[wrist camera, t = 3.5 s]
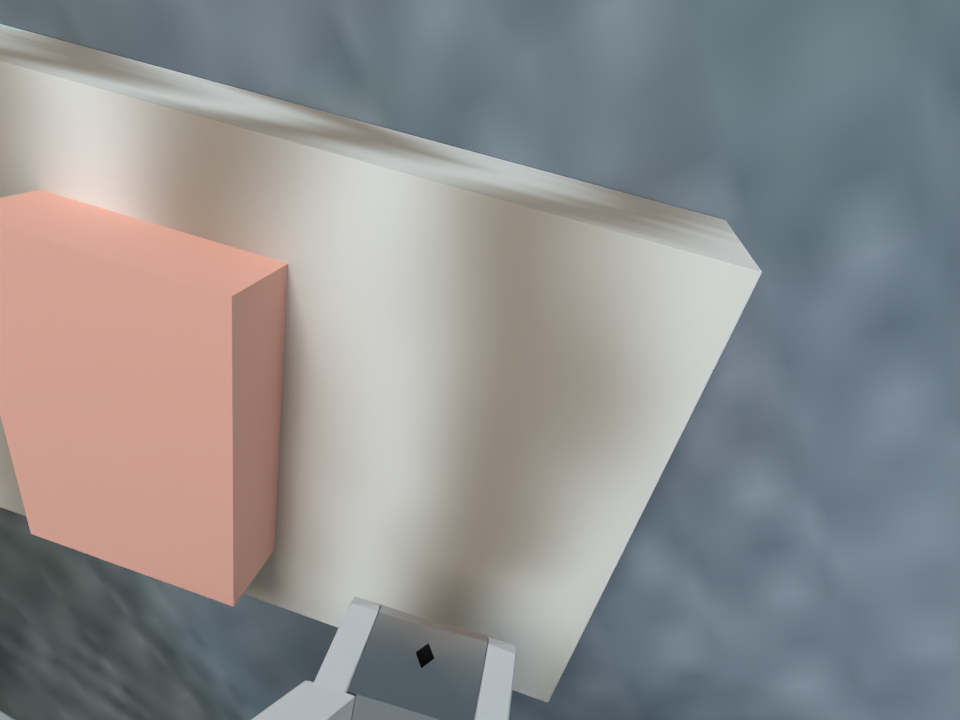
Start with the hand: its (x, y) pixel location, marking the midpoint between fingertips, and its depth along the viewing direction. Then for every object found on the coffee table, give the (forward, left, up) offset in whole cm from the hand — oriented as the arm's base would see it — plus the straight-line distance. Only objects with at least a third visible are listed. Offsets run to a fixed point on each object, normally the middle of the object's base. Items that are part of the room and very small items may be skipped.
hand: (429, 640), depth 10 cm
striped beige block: (+6, 0, -8) cm, 10 cm away
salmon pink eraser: (+8, 0, -4) cm, 9 cm away
